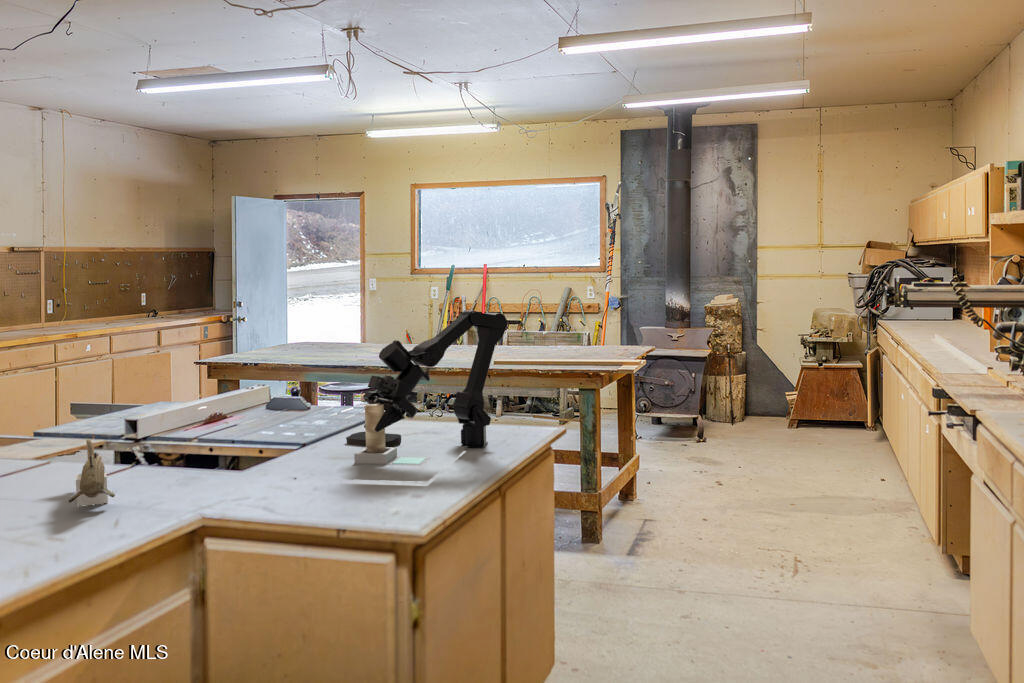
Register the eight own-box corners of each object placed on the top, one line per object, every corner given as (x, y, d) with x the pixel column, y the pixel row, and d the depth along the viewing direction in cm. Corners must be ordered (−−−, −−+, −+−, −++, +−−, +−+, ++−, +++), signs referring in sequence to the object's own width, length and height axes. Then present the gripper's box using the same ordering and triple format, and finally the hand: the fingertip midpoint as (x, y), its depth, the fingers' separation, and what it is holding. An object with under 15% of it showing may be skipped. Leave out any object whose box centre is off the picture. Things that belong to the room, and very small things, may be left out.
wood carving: (112, 481, 203) (110, 436, 202) (117, 516, 172) (113, 463, 171) (71, 485, 199) (68, 440, 198) (68, 523, 168) (64, 468, 167)
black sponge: (405, 447, 239) (404, 434, 238) (387, 452, 231) (386, 440, 231) (360, 443, 247) (360, 431, 246) (341, 448, 239) (341, 435, 239)
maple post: (388, 448, 218) (386, 403, 217) (381, 452, 213) (380, 406, 212) (370, 448, 219) (368, 403, 218) (363, 452, 214) (361, 406, 213)
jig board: (431, 461, 219) (430, 448, 218) (421, 469, 210) (420, 455, 209) (366, 459, 222) (366, 446, 222) (353, 467, 213) (353, 453, 213)
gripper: (367, 361, 224) (332, 406, 218) (405, 366, 210) (369, 414, 204) (393, 387, 230) (360, 432, 224) (431, 393, 216) (397, 441, 209)
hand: (370, 429), depth 215 cm, fingers closed on maple post, 5 cm apart
